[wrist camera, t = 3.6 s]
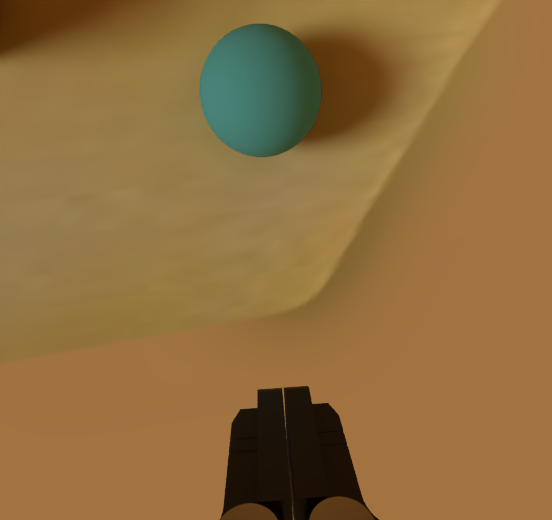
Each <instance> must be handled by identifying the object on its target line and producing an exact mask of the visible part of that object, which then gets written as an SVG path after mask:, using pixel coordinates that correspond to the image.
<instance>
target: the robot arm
mask: <svg viewBox="0 0 552 520" xmlns="http://www.w3.org/2000/svg"><path fill="white" fill-rule="evenodd" d="M284 398H285V416H286V428H285V416H284V405H283V395H282V388H274V389H259V390H258V408H252V409H240V411H239V412H238V414H237V416H236V417H235V419H234V420H233V422H232V427H231V437H230V447H229V457H228V467H227V478H226V488H225V499H224V508H223V513H222V516H221V518H220V520H293V517H294V520H378V519H377V518H376V517H375V516H374V515H373V514H372V513H371V512H370V510H369V509H368V508H367V506H366V504H365V503H364V501H363V498H362V495H361V491H360V488H359V485H358V481H357V477H356V474H355V470H354V467H353V464H352V460H351V456H350V453H349V449H348V446H347V442H346V439H345V435H344V433H343V428H342V425H341V421H340V418H339V415H338V414H337V413H336V412H335V410H334V409H333V408H332V407H331V406H330V405H329V404H328V403H322V404H312V402H311V396H310V391H309V387H308V386H301V387H287V388H284ZM286 436H287V439H286ZM287 449H288V450H287ZM288 461H289V462H288ZM289 472H290V473H289ZM292 506H293V512H292Z"/></svg>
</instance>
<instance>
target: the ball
mask: <svg viewBox="0 0 552 520" xmlns="http://www.w3.org/2000/svg"><path fill="white" fill-rule="evenodd" d="M200 100H201V106H202V109H203V112H204V115H205V118H206V120H207V122H208V124H209V126H210V127H211V129H212V130H213V132H214V133H215V134H216V136H217V137H218V138H219V139H220V140H221V141H222V142H224V143H225V144H226V145H227V146H229V147H230V148H232V149H234V150H235V151H237V152H240V153H242V154H245V155H249V156H255V157H268V156H274V155H278V154H281V153H283V152H286V151H288V150H289V149H291V148H293V147H294V146H295V145H297V144H298V143H299V142H300V141H301V140H302V139H303V138H304V137H305V136H306V135H307V134H308V132H309V131H310V129H311V128H312V126H313V124H314V122H315V120H316V118H317V115H318V112H319V108H320V103H321V80H320V75H319V71H318V68H317V65H316V63H315V61H314V59H313V57H312V55H311V53H310V52H309V50H308V49H307V48H306V46H305V45H304V44H303V43H302V42H301V41H300V40H299V39H298V38H297V37H296V36H294V35H293V34H291V33H290V32H288V31H286V30H284V29H282V28H280V27H277V26H274V25H268V24H251V25H246V26H242V27H240V28H237V29H235V30H233V31H231V32H230V33H228V34H227V35H225V36H224V37H223V38H222V39H221V40H219V42H218V43H217V44H216V45H215V46H214V47H213V49H212V50H211V52H210V53H209V55H208V57H207V59H206V61H205V64H204V67H203V70H202V74H201V79H200Z"/></svg>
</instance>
